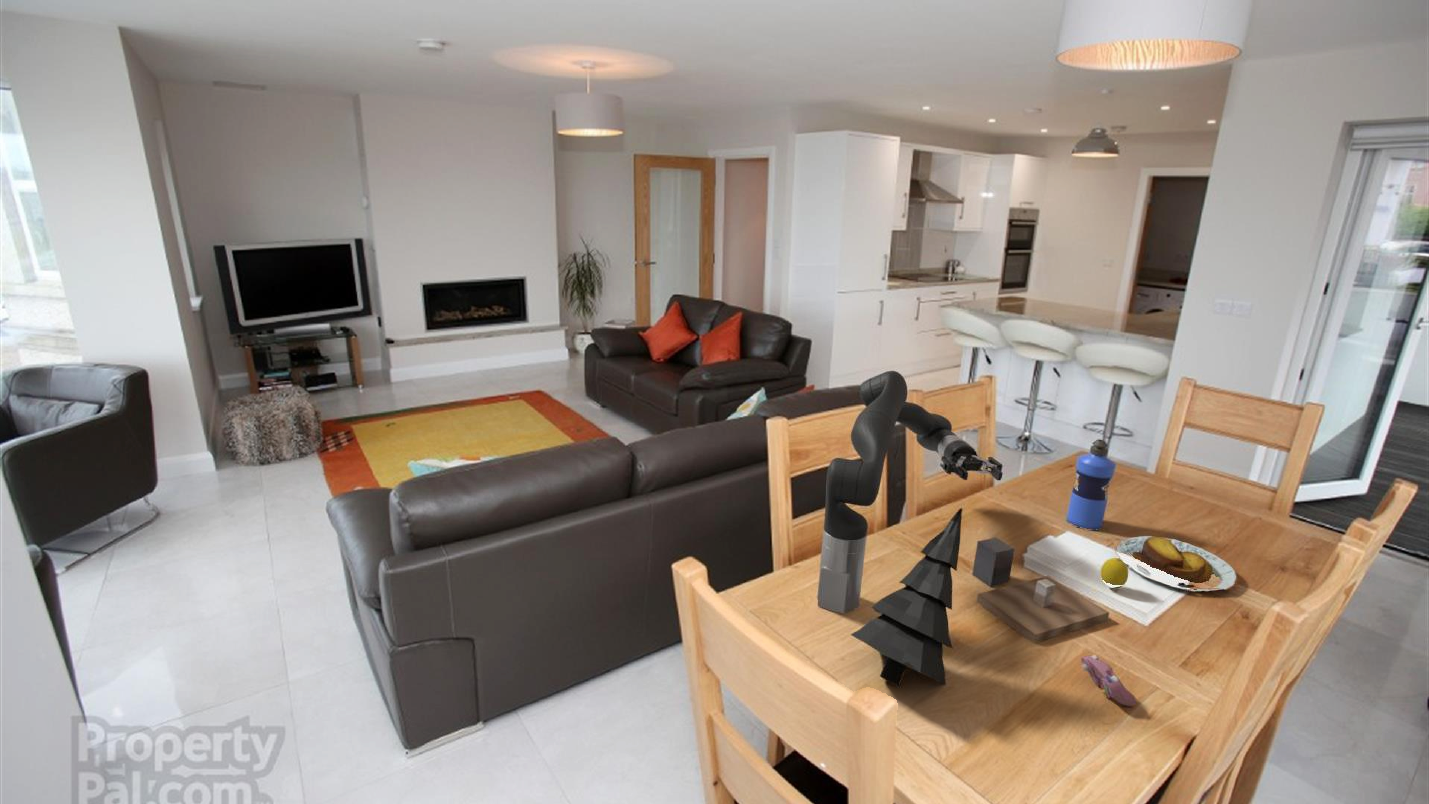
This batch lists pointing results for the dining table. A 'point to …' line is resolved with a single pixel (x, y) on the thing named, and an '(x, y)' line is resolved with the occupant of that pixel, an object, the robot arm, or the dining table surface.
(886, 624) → the decorative tree
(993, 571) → the dark grey box
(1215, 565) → the food on plate
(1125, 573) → the lemon
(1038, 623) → the flat brown board
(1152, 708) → the dining table surface
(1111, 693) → the video game controller
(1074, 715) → the dining table surface
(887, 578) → the dining table surface
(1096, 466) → the water bottle
